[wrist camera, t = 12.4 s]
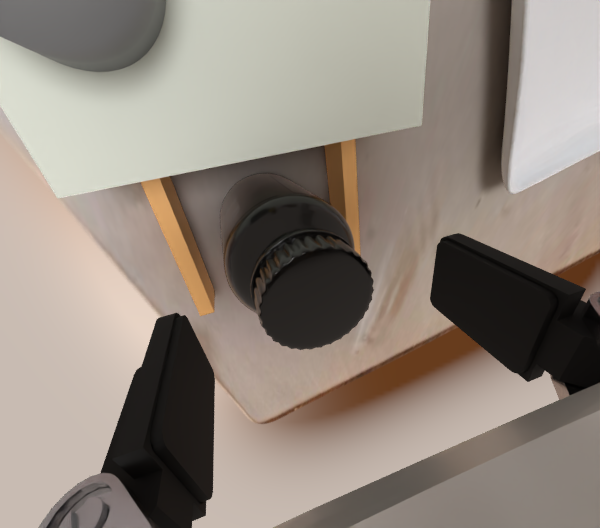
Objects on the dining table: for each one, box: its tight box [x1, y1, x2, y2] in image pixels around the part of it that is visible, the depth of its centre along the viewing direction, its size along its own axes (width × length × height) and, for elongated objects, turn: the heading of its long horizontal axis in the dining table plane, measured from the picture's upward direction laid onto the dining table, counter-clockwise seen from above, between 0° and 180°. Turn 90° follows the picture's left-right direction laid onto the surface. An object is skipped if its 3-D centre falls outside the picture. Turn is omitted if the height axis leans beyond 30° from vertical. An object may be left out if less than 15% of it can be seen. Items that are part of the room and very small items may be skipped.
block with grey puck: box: [0, 0, 430, 316], centre depth 14 cm, size 18×20×9 cm
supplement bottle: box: [220, 173, 373, 350], centre depth 15 cm, size 7×7×12 cm
